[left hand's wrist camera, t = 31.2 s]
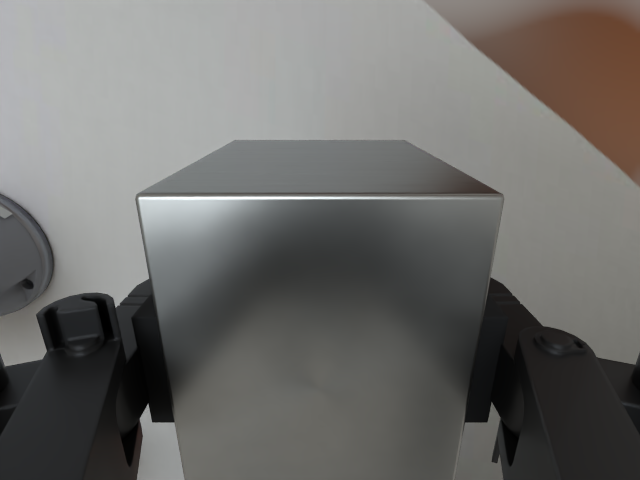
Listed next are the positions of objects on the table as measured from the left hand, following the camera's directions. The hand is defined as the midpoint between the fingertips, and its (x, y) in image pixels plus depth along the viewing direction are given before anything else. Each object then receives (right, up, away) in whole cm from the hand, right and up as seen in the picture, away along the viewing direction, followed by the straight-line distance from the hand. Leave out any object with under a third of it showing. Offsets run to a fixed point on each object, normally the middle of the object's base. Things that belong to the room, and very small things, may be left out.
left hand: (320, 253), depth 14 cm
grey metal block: (0, 0, 0) cm, 0 cm away
